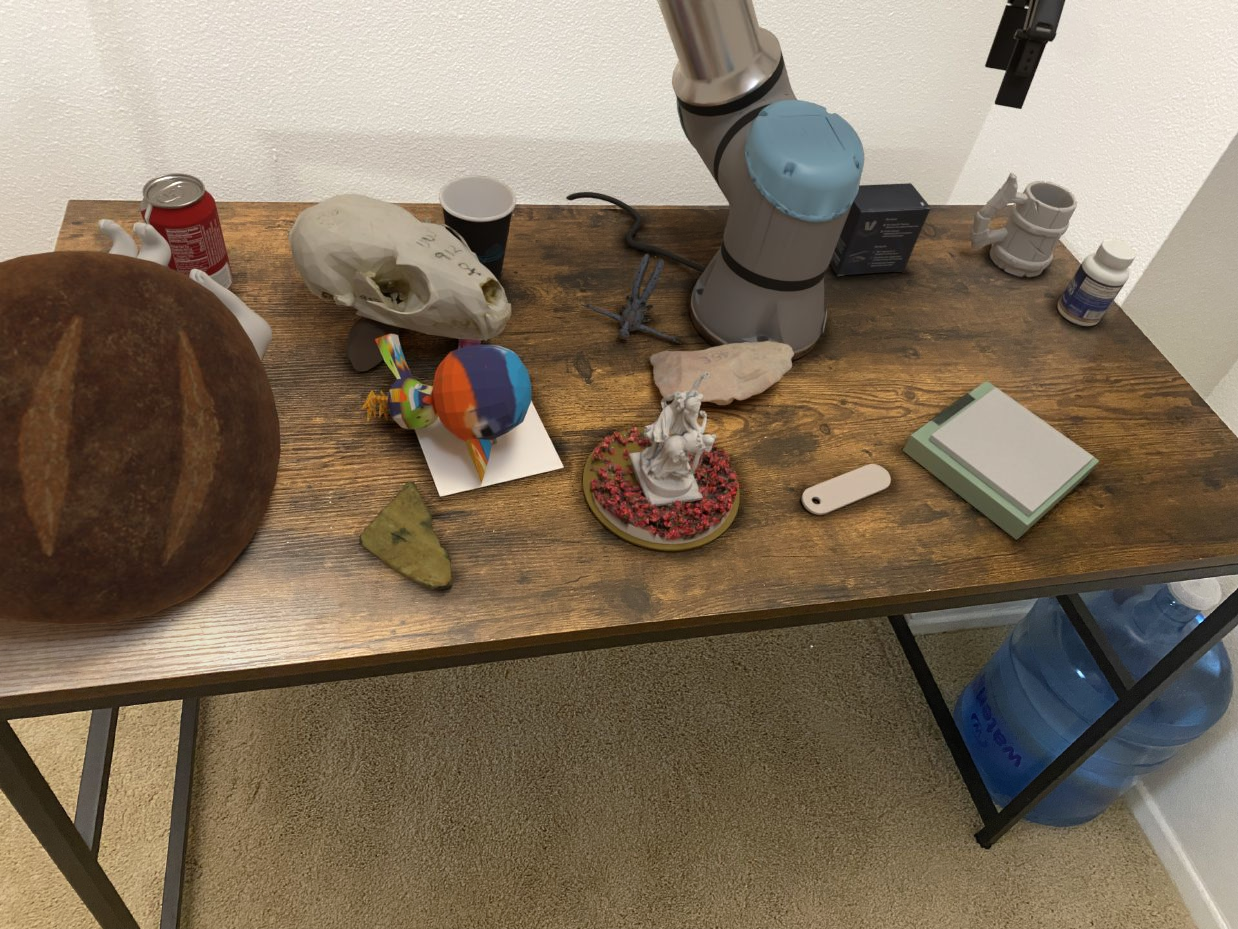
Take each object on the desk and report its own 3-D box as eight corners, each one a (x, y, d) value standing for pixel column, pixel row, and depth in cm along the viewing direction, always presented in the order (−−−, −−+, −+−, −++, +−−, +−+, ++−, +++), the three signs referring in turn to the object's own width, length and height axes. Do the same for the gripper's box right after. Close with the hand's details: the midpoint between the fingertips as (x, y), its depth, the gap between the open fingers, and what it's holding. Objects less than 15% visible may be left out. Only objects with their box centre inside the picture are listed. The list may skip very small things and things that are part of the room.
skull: (454, 397, 85) (454, 308, 78) (260, 292, 92) (244, 201, 85) (542, 326, 94) (549, 241, 87) (360, 236, 101) (353, 150, 94)
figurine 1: (432, 277, 96) (394, 361, 89) (429, 306, 100) (393, 389, 93) (371, 259, 96) (329, 342, 89) (371, 289, 100) (330, 370, 93)
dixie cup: (496, 312, 101) (498, 227, 92) (428, 291, 101) (425, 205, 93) (522, 271, 106) (527, 187, 97) (458, 251, 107) (457, 167, 98)
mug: (1053, 281, 118) (1102, 200, 109) (965, 273, 117) (1007, 191, 108) (1034, 245, 123) (1079, 165, 114) (950, 237, 122) (989, 155, 113)
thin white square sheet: (440, 496, 83) (439, 486, 82) (405, 405, 90) (404, 394, 89) (564, 467, 88) (565, 457, 87) (522, 382, 94) (523, 371, 93)
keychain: (794, 496, 89) (811, 520, 88) (796, 492, 88) (814, 517, 87) (876, 463, 93) (894, 486, 92) (878, 460, 93) (896, 483, 91)
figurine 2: (707, 278, 102) (707, 272, 97) (675, 359, 103) (673, 358, 98) (606, 239, 103) (601, 232, 98) (576, 321, 104) (568, 317, 99)
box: (885, 245, 119) (912, 181, 112) (904, 273, 115) (933, 208, 108) (819, 249, 116) (842, 183, 109) (837, 277, 113) (862, 211, 106)
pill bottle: (1063, 293, 117) (1103, 228, 110) (1104, 313, 115) (1147, 248, 108) (1050, 313, 114) (1090, 248, 106) (1092, 333, 112) (1135, 269, 105)
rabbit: (127, 190, 68) (-89, 484, 60) (310, 348, 85) (159, 596, 77) (48, 185, 74) (-158, 452, 66) (233, 334, 91) (86, 562, 83)
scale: (901, 449, 95) (912, 428, 93) (976, 395, 102) (988, 374, 100) (1016, 540, 89) (1031, 520, 87) (1087, 475, 96) (1103, 455, 94)
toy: (351, 489, 82) (511, 488, 78) (345, 330, 81) (506, 322, 77) (404, 481, 91) (548, 480, 88) (399, 339, 91) (545, 332, 87)
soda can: (247, 291, 98) (225, 193, 89) (188, 318, 94) (159, 218, 85) (211, 260, 100) (187, 161, 91) (152, 284, 97) (120, 184, 88)
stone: (459, 590, 78) (460, 580, 76) (382, 613, 75) (381, 602, 74) (418, 486, 84) (418, 475, 83) (346, 503, 82) (344, 492, 81)
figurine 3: (707, 420, 94) (739, 311, 84) (762, 536, 85) (806, 432, 75) (565, 438, 90) (579, 327, 79) (607, 563, 81) (630, 456, 70)
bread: (279, 290, 80) (332, 284, 74) (256, 602, 81) (307, 620, 75) (-141, 211, 59) (-113, 195, 53) (-167, 634, 60) (-142, 664, 54)
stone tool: (658, 421, 93) (803, 411, 95) (659, 382, 90) (809, 372, 92) (646, 372, 100) (782, 363, 102) (647, 334, 97) (786, 326, 99)
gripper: (1153, -119, 78) (1051, 130, 92) (1103, -150, 97) (1024, 60, 111) (1063, -133, 79) (975, 116, 93) (1030, -161, 98) (961, 49, 111)
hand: (1001, 86), depth 102 cm, fingers open, 13 cm apart
